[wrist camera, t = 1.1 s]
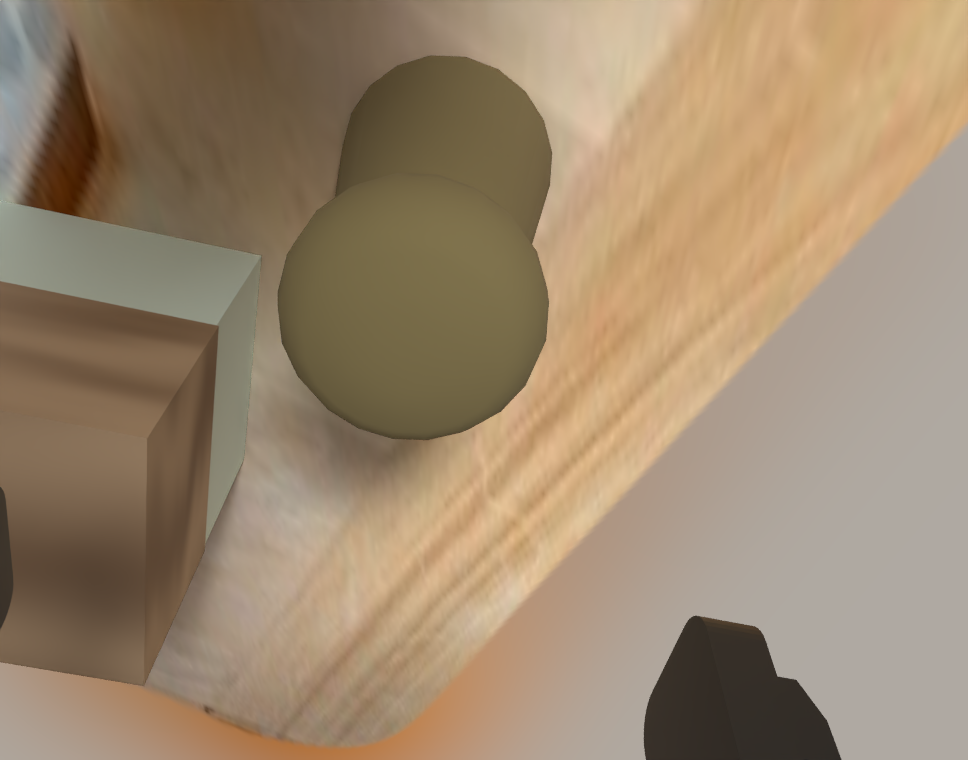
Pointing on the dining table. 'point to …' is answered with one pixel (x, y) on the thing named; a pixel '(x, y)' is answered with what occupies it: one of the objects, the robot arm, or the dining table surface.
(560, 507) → the dining table surface
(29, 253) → the tower base block
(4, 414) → the tower top block
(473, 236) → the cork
